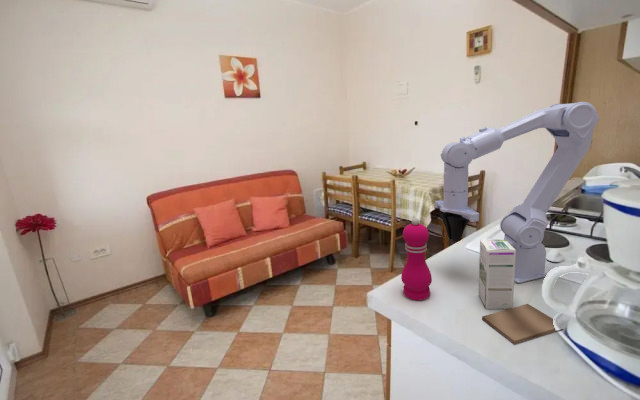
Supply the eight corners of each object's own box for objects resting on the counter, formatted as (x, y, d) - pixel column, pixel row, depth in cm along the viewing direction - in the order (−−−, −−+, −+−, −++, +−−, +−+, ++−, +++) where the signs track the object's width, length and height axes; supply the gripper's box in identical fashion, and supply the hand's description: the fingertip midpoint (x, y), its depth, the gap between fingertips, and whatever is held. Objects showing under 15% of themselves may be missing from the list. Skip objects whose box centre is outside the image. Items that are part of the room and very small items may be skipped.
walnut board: (527, 306, 68) (527, 303, 67) (563, 329, 60) (564, 325, 60) (482, 319, 65) (482, 316, 65) (514, 344, 57) (514, 340, 57)
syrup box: (513, 310, 67) (518, 249, 63) (484, 309, 68) (487, 249, 65) (504, 296, 72) (507, 239, 69) (477, 295, 74) (479, 239, 70)
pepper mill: (428, 304, 72) (428, 224, 67) (398, 298, 75) (396, 221, 70) (434, 289, 78) (434, 214, 73) (405, 284, 81) (403, 212, 76)
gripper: (425, 187, 83) (425, 233, 87) (461, 198, 70) (460, 252, 73) (447, 183, 85) (446, 229, 88) (487, 193, 71) (485, 247, 75)
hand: (454, 239), depth 81 cm, fingers closed
